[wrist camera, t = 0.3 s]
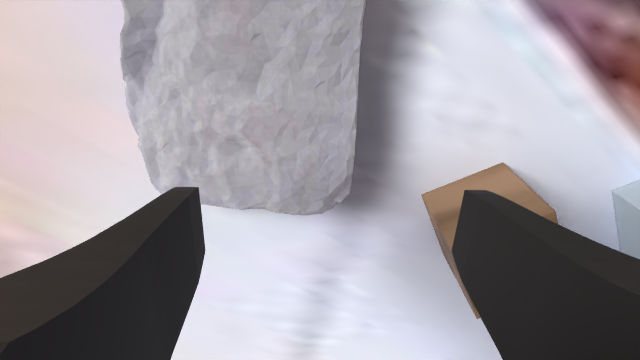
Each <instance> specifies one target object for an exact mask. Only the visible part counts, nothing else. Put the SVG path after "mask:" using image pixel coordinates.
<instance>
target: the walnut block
mask: <svg viewBox="0 0 640 360" xmlns="http://www.w3.org/2000/svg"><path fill="white" fill-rule="evenodd" d="M464 190H488V191H490V192H493V193H496V194H498V195H500V196H503V197H505V198H507V199H509V200H511V201H513V202H515V203H517V204H519V205H521V206H523V207H525V208H527V209H529V210H531V211H533V212H534V213H536V214H538V215H540V216H542V217H544V218H546V219H548V220H550V221H552V222H554V223H556V224H558V222H557V217H556V213H555V210H554V209H552V208H551V207H550V206H549V205H548V204H547V203H546V202H545V201H544V200H543V199H542V198H541V197H540V196H538V195H537V194H536V193H535V192H534V191H533V190H532V189H531V188H530V187H529V186H528V185H527V184H525V183H524V182H523V181H522V180H521V179H520V178H519V177H518V176H517V175H516V174H515V173H514V172H513V171H511V170H510V169H509V168H508V167H507V166H506V165H505V164H504V163H500V164H498V165H495V166H493V167H490V168H488V169H485V170H483V171H480V172H478V173H475V174H473V175H470V176H468V177H465V178H462V179H460V180H457V181H455V182H452V183H450V184H447V185H445V186H442V187H440V188H437V189H435V190H432V191H430V192H427V193H425V194H422V198H423V200H424V203H425V206H426V208H427V211H428V214H429V216H430V219H431V222H432V225H433V227H434V230H435V233H436V235H437V238H438V241H439V243H440V246H441V249H442V251H443V254H444V256H445V258H446V260H447V262H448V264H449V266H450V268H451V270H452V272H453V274H454V276H455V278H456V279H457V281H458V283H459V285H460V287H461V289H462V291H463V293H464V295H465V297H466V299H467V301H468V303H469V304H470V306H471V308H472V310H473V312H474V314H475V316H476V318H477V319H478V318H480V315H479V313H478V312H477V310H476V308H475V306H474V304H473V302H472V300H471V298H470V296H469V294H468V293H467V291H466V289H465V287H464V285H463V283H462V280H461V278H460V275H459V272H458V270H457V267H456V264H455V261H454V258H453V255H452V252H451V251H452V246H453V242H454V237H455V232H456V228H457V223H458V218H459V214H460V209H461V204H462V200H463V195H464Z"/></svg>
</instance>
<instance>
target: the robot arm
mask: <svg viewBox="0 0 640 360" xmlns="http://www.w3.org/2000/svg"><path fill="white" fill-rule="evenodd" d="M451 252H452V255H453V258H454V261H455V264H456V267H457V270H458V272H459V275H460V278H461V280H462V283H463V285H464V287H465V289H466V291H467V293H468V294H469V296H470V298H471V300H472V302H473V304H474V306H475V308H476V310H477V312H478V313H479V315H480V317H481V319H482V321H483V323H484V325H485V326H486V328H487V330H488V332H489V334H490V336H491V338H492V339H493V341H494V343H495V345H496V347H497V349H498V351H499V353H500V355H501V357H502V359H503V360H640V259H638V258H635V257H632V256H630V255H627V254H624V253H622V252H619V251H617V250H614V249H611V248H609V247H607V246H604V245H602V244H599V243H597V242H595V241H593V240H590V239H588V238H586V237H584V236H582V235H579V234H577V233H575V232H573V231H571V230H569V229H567V228H564V227H562V226H560V225H558V224H556V223H554V222H552V221H550V220H548V219H546V218H544V217H542V216H540V215H538V214H536V213H534V212H533V211H531V210H529V209H527V208H525V207H523V206H521V205H519V204H517V203H515V202H513V201H511V200H509V199H507V198H505V197H503V196H500V195H498V194H496V193H493V192H490V191H488V190H464V195H463V200H462V204H461V209H460V214H459V218H458V223H457V228H456V232H455V237H454V242H453V246H452V251H451ZM204 255H205V244H204V234H203V224H202V214H201V204H200V194H199V187H174V188H172V189H170V190H168V191H167V192H165V193H163V194H162V195H160V196H159V197H157V198H156V199H154V200H153V201H151V202H150V203H148V204H147V205H145V206H144V207H142V208H140V209H139V210H137V211H136V212H134V213H133V214H131V215H130V216H128V217H126V218H125V219H123V220H122V221H120V222H118V223H116V224H115V225H113V226H111V227H110V228H108V229H106V230H104V231H103V232H101V233H99V234H98V235H96V236H94V237H92V238H91V239H89V240H87V241H85V242H83V243H81V244H79V245H77V246H75V247H73V248H71V249H69V250H67V251H65V252H63V253H60V254H58V255H56V256H54V257H52V258H50V259H47V260H45V261H43V262H40V263H38V264H35V265H33V266H30V267H28V268H25V269H22V270H20V271H17V272H15V273H12V274H10V275H7V276H5V277H2V278H0V360H170V359H171V356H172V353H173V351H174V348H175V345H176V343H177V340H178V337H179V335H180V332H181V329H182V326H183V324H184V321H185V318H186V316H187V313H188V310H189V308H190V305H191V302H192V299H193V297H194V294H195V291H196V288H197V285H198V283H199V278H200V274H201V269H202V264H203V260H204Z"/></svg>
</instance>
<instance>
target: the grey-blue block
mask: <svg viewBox="0 0 640 360" xmlns="http://www.w3.org/2000/svg"><path fill="white" fill-rule="evenodd" d="M612 197H613V204H614V211H615V218H616V225H617V232H618V239H619V246H620V252H622V253H624V254H627V255H630V256H632V257H635V258H638V259H640V180H638V181H635V182H632V183H630V184H627V185H625V186H622V187H619V188H617V189H614V190H612Z"/></svg>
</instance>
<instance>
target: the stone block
mask: <svg viewBox="0 0 640 360" xmlns="http://www.w3.org/2000/svg"><path fill="white" fill-rule="evenodd" d="M121 2H122V5H123V8H124V25H123V28H122V31H121V34H120V48H121V58H120V61H121V68H122V74H123V80H124V81H125V96H126V105H127V108H128V111H129V116H130V120H131V122H132V125H133V127H134V129H135V131H136V133H137V134H138V135H139V139H138V140H139V143H138V146H139V148H140V150H141V152H142V155H143V158H144V161H145V165H146V168H147V171H148V174H149V177H150V180H151V183H152V184H153V186H154V187H155V189H156V190H158V191H159V192H160V193H162V194H163V193H165V192H167V191H168V190H170V189H172V188H174V187H199V194H200V203H201V204H206V205H212V206H219V207H226V208H236V209H240V210H243V209H266V210H270V211H274V212H278V213H286V214H293V215H311V214H321V213H324V212H325V211H327V210H329V209H331V208H333V206H334V205H335V204H337V203H341V202H342V201H343V200H344V199H345V198H346V197H347V196H348V195H349V194H350V193H351V182H352V176H353V168H354V159H355V142H356V130H357V113H358V81H359V63H360V51H361V41H362V30H363V20H364V14H365V8H366V3H367V0H121Z"/></svg>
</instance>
